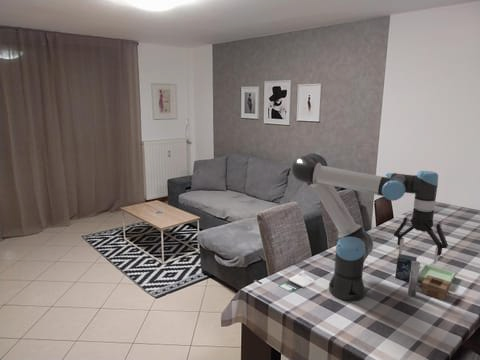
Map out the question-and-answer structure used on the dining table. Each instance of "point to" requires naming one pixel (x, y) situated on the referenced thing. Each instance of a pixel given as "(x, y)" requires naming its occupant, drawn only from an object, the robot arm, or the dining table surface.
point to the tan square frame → (435, 287)
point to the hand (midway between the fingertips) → (417, 257)
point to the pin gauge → (413, 278)
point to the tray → (435, 273)
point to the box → (404, 266)
